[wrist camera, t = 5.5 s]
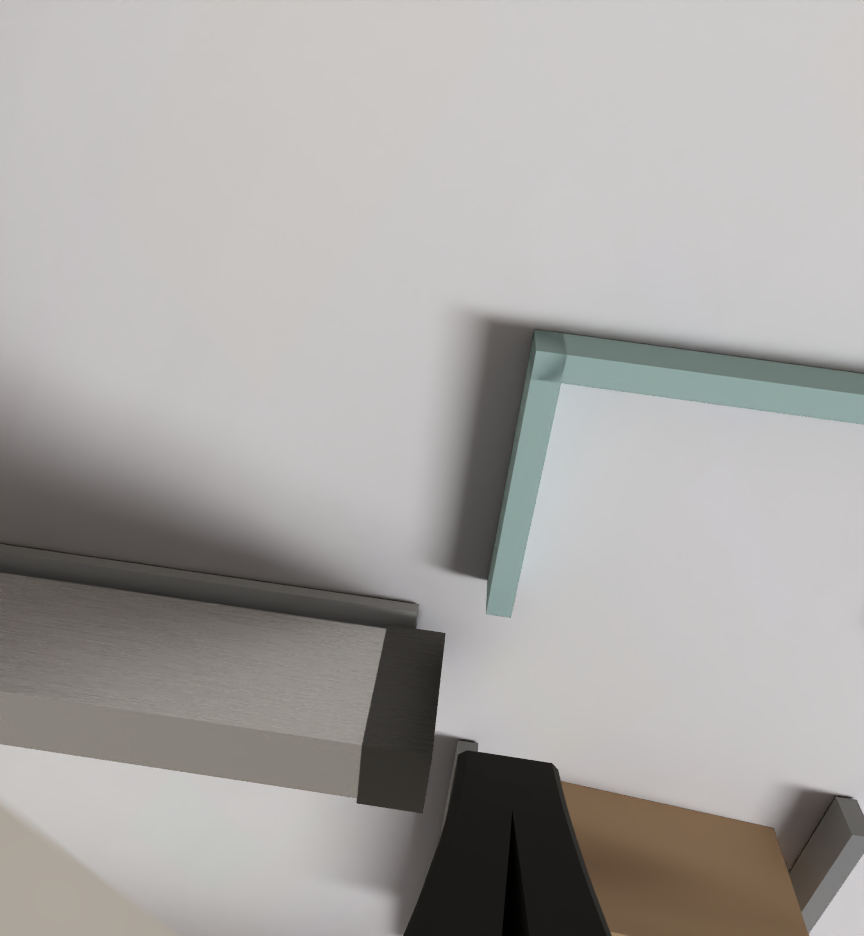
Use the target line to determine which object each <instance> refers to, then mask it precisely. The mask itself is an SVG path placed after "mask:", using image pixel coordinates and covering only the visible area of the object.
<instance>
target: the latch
mask: <svg viewBox="0 0 864 936" xmlns="http://www.w3.org/2000/svg"><path fill="white" fill-rule="evenodd" d="M444 642H445V633H441V632H434V631H427V630H420V629H414V628H407V627H400V626H393V625H387V628H386V629H384V628H377V627H370V626H363V625H357V624H350V623H343V622H336V621H329V620H322V619H315V618H309V617H302V616H295V615H288V614H281V613H274V612H267V611H261V610H254V609H247V608H240V607H233V606H226V605H219V604H213V603H206V602H199V601H192V600H185V599H178V598H171V597H165V596H158V595H151V594H144V593H137V592H130V591H123V590H116V589H110V588H103V587H96V586H89V585H82V584H75V583H68V582H62V581H55V580H48V579H41V578H34V577H27V576H20V575H14V574H7V573H0V744H3V745H10V746H16V747H23V748H30V749H36V750H43V751H49V752H56V753H63V754H69V755H76V756H82V757H89V758H96V759H102V760H109V761H115V762H122V763H129V764H135V765H142V766H148V767H155V768H162V769H168V770H175V771H181V772H188V773H194V774H201V775H208V776H214V777H221V778H227V779H234V780H241V781H247V782H254V783H260V784H267V785H274V786H280V787H287V788H293V789H300V790H307V791H313V792H320V793H326V794H333V795H340V796H346V797H353V798H357V803H358V804H365V805H371V806H378V807H385V808H391V809H398V810H404V811H411V812H418V813H423V808H424V802H425V796H426V790H427V784H428V777H429V771H430V765H431V759H432V751H433V742H434V733H435V724H436V715H437V706H438V697H439V687H440V678H441V669H442V660H443V651H444Z"/></svg>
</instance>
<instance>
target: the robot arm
mask: <svg viewBox="0 0 864 936" xmlns="http://www.w3.org/2000/svg"><path fill="white" fill-rule="evenodd" d="M403 936H612V935H611V932H610V930H609V927H608V925H607V922H606V919H605V917H604V914H603V912H602V909H601V906H600V904H599V901H598V898H597V896H596V893H595V891H594V888H593V885H592V882H591V879H590V876H589V874H588V871H587V868H586V865H585V862H584V859H583V856H582V853H581V850H580V847H579V844H578V841H577V838H576V834H575V831H574V828H573V825H572V821H571V818H570V815H569V811H568V808H567V804H566V800H565V796H564V793H563V789H562V785H561V781H560V776H559V772H558V769H557V768H556V767H555V766H554V765H553V764H552V763H547V762H541V761H534V760H528V759H521V758H515V757H508V756H501V755H495V754H488V753H482V752H475V751H469V750H466V751H464V752H462V753H460V754H458V757H457V762H456V767H455V773H454V778H453V783H452V789H451V794H450V799H449V804H448V810H447V815H446V820H445V824H444V827H443V830H442V834H441V837H440V840H439V844H438V847H437V849H436V852H435V855H434V858H433V861H432V863H431V866H430V869H429V872H428V875H427V877H426V880H425V883H424V886H423V888H422V891H421V894H420V897H419V899H418V902H417V904H416V907H415V909H414V912H413V914H412V916H411V919H410V921H409V924H408V926H407V928H406V931H405V933H404V935H403Z"/></svg>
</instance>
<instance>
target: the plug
mask: <svg viewBox="0 0 864 936" xmlns="http://www.w3.org/2000/svg"><path fill="white" fill-rule="evenodd" d="M561 785H562V789H563V793H564V796H565V800H566V804H567V808H568V811H569V815H570V818H571V821H572V825H573V828H574V831H575V834H576V838H577V841H578V844H579V847H580V850H581V853H582V856H583V859H584V862H585V865H586V868H587V871H588V874H589V876H590V879H591V882H592V885H593V888H594V891H595V893H596V896H597V898H598V901H599V904H600V906H601V909H602V912H603V914H604V917H605V919H606V922H607V925H608V927H609V930H610V932H611V935H612V936H809V934H808V931H807V928H806V925H805V922H804V919H803V916H802V913H801V910H800V907H799V904H798V901H797V897H796V894H795V891H794V888H793V885H792V882H791V879H790V876H789V873H788V870H787V867H786V864H785V861H784V858H783V855H782V852H781V849H780V846H779V843H778V840H777V837H776V833H775V830H774V828H771V827H766V826H762V825H757V824H753V823H748V822H744V821H739V820H735V819H730V818H725V817H721V816H716V815H712V814H707V813H703V812H698V811H694V810H689V809H685V808H680V807H676V806H671V805H667V804H662V803H658V802H653V801H648V800H644V799H639V798H635V797H630V796H626V795H621V794H617V793H612V792H608V791H603V790H599V789H594V788H590V787H585V786H580V785H576V784H571V783H567V782H562V781H561Z"/></svg>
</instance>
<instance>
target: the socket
mask: <svg viewBox="0 0 864 936" xmlns="http://www.w3.org/2000/svg"><path fill="white" fill-rule="evenodd" d="M0 573H7V574H14V575H20V576H27V577H34V578H41V579H48V580H55V581H62V582H68V583H75V584H82V585H89V586H96V587H103V588H110V589H116V590H123V591H130V592H137V593H144V594H151V595H158V596H165V597H171V598H178V599H185V600H192V601H199V602H206V603H213V604H219V605H226V606H233V607H240V608H247V609H254V610H261V611H267V612H274V613H281V614H288V615H295V616H302V617H309V618H315V619H322V620H329V621H336V622H343V623H350V624H357V625H363V626H370V627H377V628H384V629H386V628H387V625H393V626H400V627H407V628H414V629H416V623H417V615H418V607H419V604H412V603H405V602H398V601H391V600H384V599H377V598H370V597H363V596H356V595H349V594H343V593H336V592H329V591H322V590H315V589H308V588H301V587H294V586H287V585H280V584H274V583H267V582H260V581H253V580H246V579H239V578H232V577H225V576H218V575H211V574H204V573H198V572H191V571H184V570H177V569H170V568H163V567H156V566H149V565H142V564H135V563H128V562H122V561H115V560H108V559H101V558H94V557H87V556H80V555H73V554H66V553H59V552H52V551H46V550H39V549H32V548H25V547H18V546H11V545H4V544H0ZM466 750H469V751H475V752H478V743H472V742H465V741H459V740H458V742H457V747H456V753H455V758H454V763H453V769H452V774H451V779H450V785H449V790H448V796H447V801H446V806H445V812H444V817H443V822H442V828H441V833H440V837H441V834H442V830H443V827H444V824H445V820H446V815H447V810H448V804H449V799H450V794H451V789H452V783H453V778H454V773H455V767H456V762H457V757H458V754H460V753H462V752H464V751H466ZM439 840H440V838H439ZM863 854H864V815H863V813H862V811H861V808H860V806H859V804H858V802H857V800H854V799H848V798H841V797H836V798H835V799H834V801H833V802H832V804H831V806H830V807H829V809H828V811H827V812H826V814H825V816H824V817H823V819H822V820H821V822H820V824H819V825H818V827H817V829H816V830H815V832H814V834H813V835H812V837H811V838H810V840H809V842H808V843H807V845H806V847H805V848H804V850H803V851H802V853H801V855H800V856H799V858H798V860H797V861H796V863H795V865H794V866H793V868H792V869H791V871H790V873H789V876H790V879H791V882H792V885H793V888H794V891H795V894H796V897H797V901H798V904H799V907H800V910H801V913H802V916H803V919H804V922H805V925H806V928H807V931H808V934H809V933H810V931H811V930H812V928H813V927H814V925H815V924H816V922H817V921H818V920H819V918H820V917H821V915H822V914H823V912H824V911H825V909H826V908H827V906H828V905H829V903H830V902H831V901H832V899H833V898H834V896H835V895H836V893H837V892H838V890H839V889H840V887H841V886H842V884H843V883H844V882H845V880H846V879H847V877H848V876H849V874H850V873H851V871H852V870H853V868H854V867H855V865H856V864H857V863H858V861H859V860H860V858H861V857H862V855H863Z"/></svg>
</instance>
